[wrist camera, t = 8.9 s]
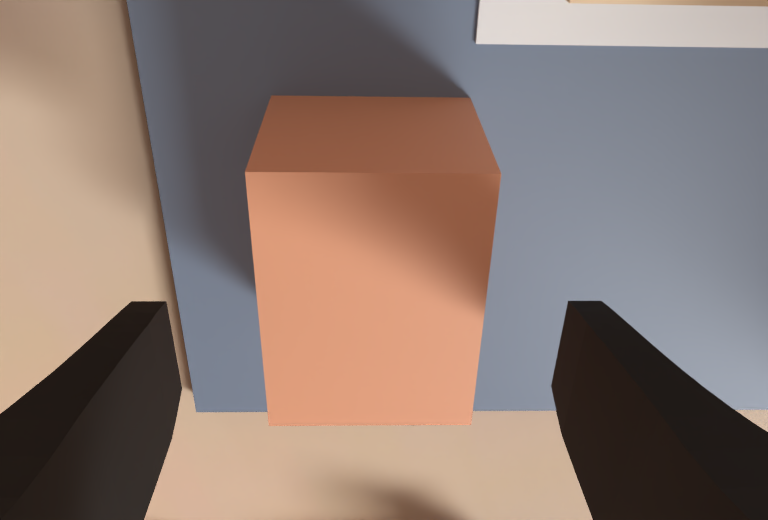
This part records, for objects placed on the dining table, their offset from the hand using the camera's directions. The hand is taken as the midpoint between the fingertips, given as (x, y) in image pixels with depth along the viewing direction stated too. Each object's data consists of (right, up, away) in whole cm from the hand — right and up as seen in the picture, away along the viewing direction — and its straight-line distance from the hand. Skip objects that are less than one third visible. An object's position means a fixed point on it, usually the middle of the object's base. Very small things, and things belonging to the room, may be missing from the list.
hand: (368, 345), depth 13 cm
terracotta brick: (0, +3, +4) cm, 5 cm away
